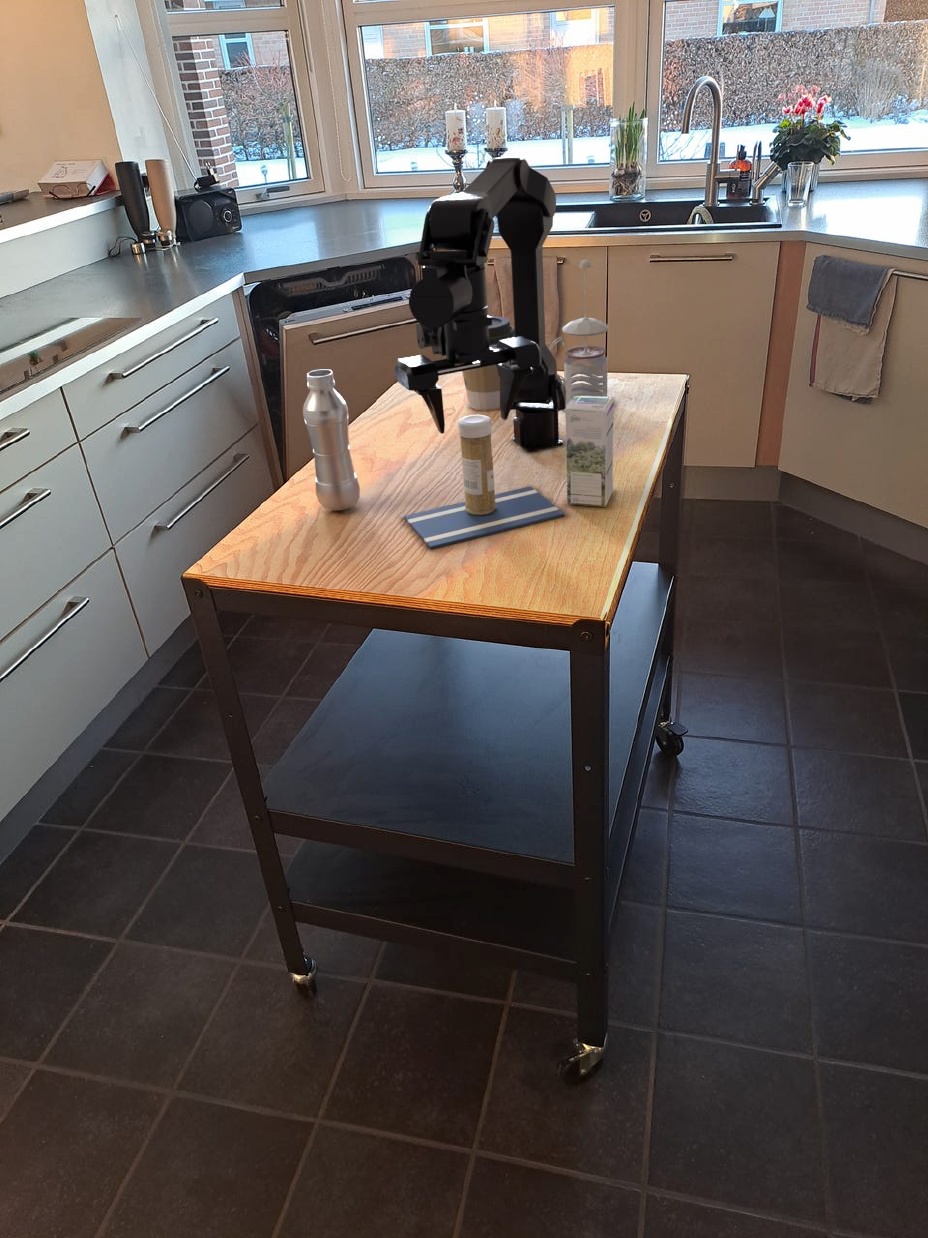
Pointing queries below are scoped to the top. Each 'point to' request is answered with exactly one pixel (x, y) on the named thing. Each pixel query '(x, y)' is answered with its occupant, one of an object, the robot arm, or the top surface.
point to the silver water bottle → (330, 442)
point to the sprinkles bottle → (477, 464)
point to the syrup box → (589, 450)
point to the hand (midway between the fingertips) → (473, 425)
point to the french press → (584, 356)
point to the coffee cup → (488, 371)
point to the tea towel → (482, 518)
